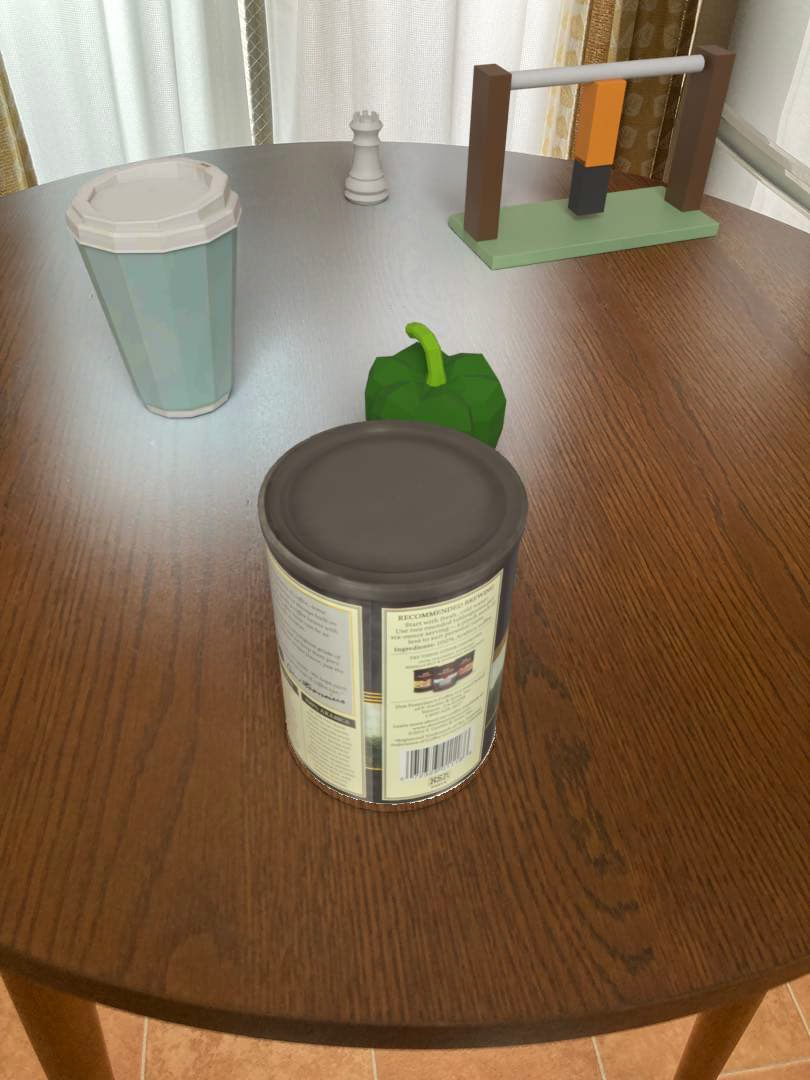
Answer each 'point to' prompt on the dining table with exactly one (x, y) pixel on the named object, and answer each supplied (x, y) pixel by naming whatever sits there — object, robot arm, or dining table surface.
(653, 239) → the foosball stand
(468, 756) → the coffee can
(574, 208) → the foosball rod
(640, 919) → the dining table surface
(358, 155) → the rook chess piece
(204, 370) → the disposable coffee cup
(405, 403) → the bell pepper
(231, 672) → the dining table surface
